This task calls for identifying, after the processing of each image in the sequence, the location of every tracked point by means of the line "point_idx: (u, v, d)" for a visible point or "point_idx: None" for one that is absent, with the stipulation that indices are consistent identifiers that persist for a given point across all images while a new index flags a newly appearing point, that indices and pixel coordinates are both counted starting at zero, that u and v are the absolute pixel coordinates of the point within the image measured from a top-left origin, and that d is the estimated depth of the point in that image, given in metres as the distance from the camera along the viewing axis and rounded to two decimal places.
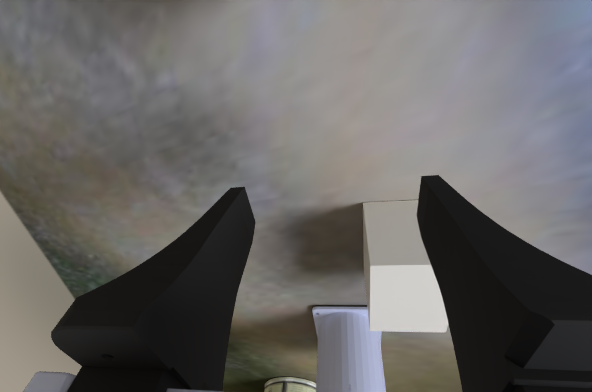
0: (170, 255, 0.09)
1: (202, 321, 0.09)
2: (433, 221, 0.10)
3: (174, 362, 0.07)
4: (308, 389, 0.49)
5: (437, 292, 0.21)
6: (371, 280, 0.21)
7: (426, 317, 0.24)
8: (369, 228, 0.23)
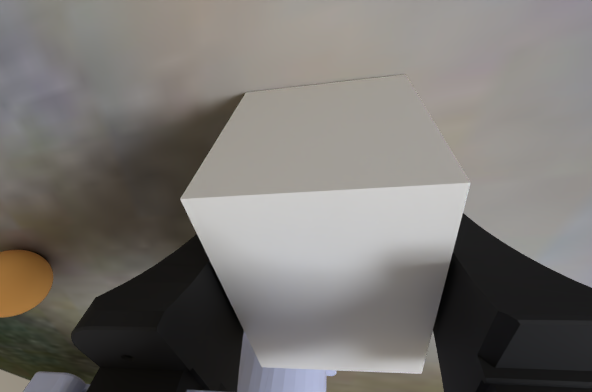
0: (186, 254, 0.09)
1: (218, 321, 0.09)
2: None
3: (194, 363, 0.07)
4: None
5: (389, 281, 0.08)
6: (207, 248, 0.08)
7: (373, 342, 0.10)
8: (232, 127, 0.09)
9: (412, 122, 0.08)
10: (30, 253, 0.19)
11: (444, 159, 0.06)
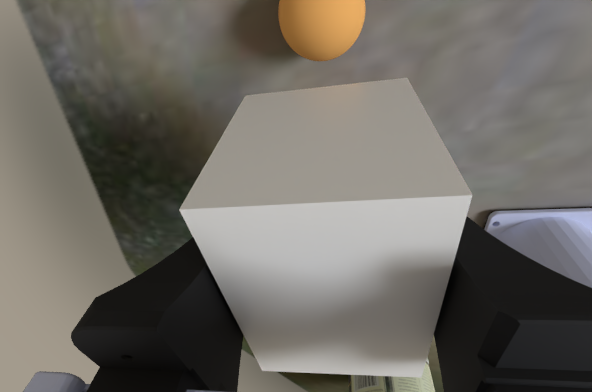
0: (186, 254, 0.09)
1: (218, 321, 0.09)
2: None
3: (193, 363, 0.07)
4: None
5: (390, 289, 0.08)
6: (206, 257, 0.08)
7: (374, 348, 0.10)
8: (231, 132, 0.09)
9: (413, 129, 0.08)
10: (343, 2, 0.12)
11: (446, 170, 0.06)
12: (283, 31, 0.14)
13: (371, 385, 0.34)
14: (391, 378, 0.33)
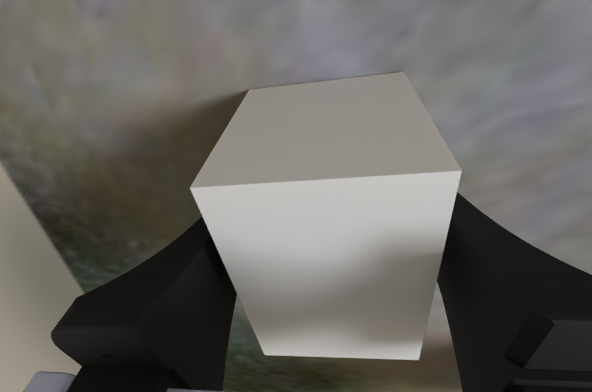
0: (170, 255, 0.09)
1: (202, 321, 0.09)
2: None
3: (174, 362, 0.07)
4: None
5: (387, 267, 0.08)
6: (214, 235, 0.08)
7: (372, 329, 0.10)
8: (236, 122, 0.10)
9: (408, 116, 0.08)
10: None
11: (438, 150, 0.07)
12: None
13: None
14: None
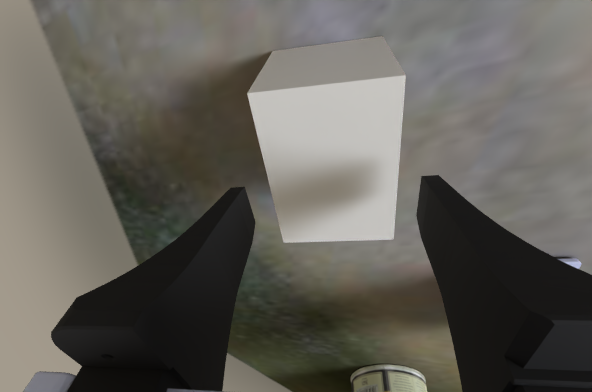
0: (170, 255, 0.09)
1: (202, 321, 0.09)
2: (433, 221, 0.10)
3: (174, 362, 0.07)
4: (415, 380, 0.39)
5: (367, 151, 0.13)
6: (258, 130, 0.13)
7: (360, 209, 0.15)
8: (268, 66, 0.15)
9: (381, 56, 0.13)
10: None
11: (395, 69, 0.12)
12: None
13: None
14: None
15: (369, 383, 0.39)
